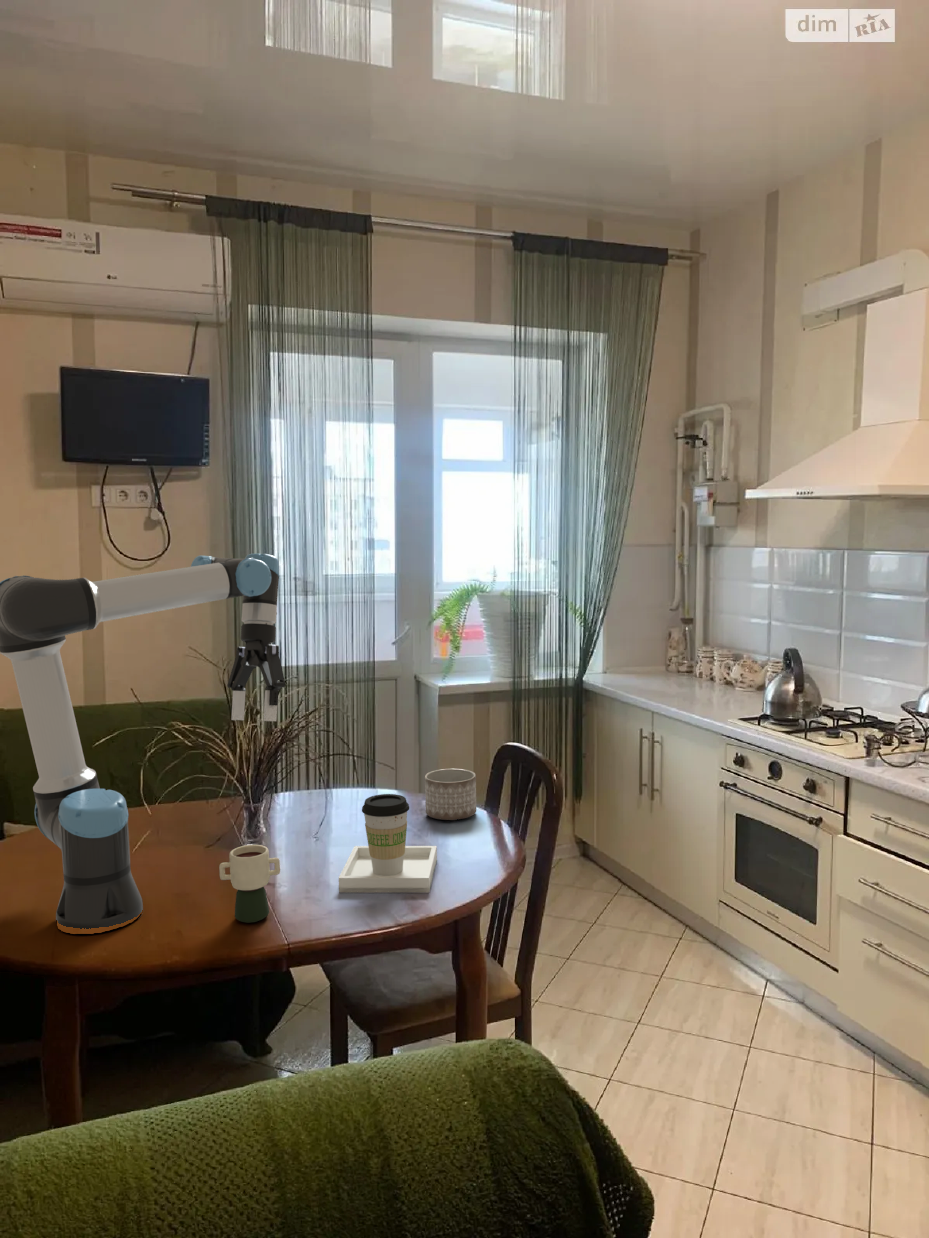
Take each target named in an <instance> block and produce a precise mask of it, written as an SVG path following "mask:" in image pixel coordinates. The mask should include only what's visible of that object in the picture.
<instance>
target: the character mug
mask: <svg viewBox="0 0 929 1238" xmlns="http://www.w3.org/2000/svg"><path fill="white" fill-rule="evenodd" d="M228 854H229V856H228V857H229V861H228V862H227V861H226V862H221V863H220V864H219V867H218V868H219V879H220V880H221V881H227V880H230V882H231V885H232V888H233V889H235V890H237V891H236V894H235V904H234V919H236V920H237V921H239V922H242V923H247V924H249V923H256V922H258V921H261V920H263V919H265V918H267V916H269V914H270V907H269V902H268V901H269V900H268V897H267V896H268V895H267V891H266V889H265V886H267V885H268V883H269V881H270V878H271V876H277V875H280V873H281V863H280V862H281V861H280V858H279V857H270V851H269V848H268V847H267V846H265V845H260V844H246V845H245V844H244V845H242V846H238V847H236V848H234V849H232V850H231V851H230V852H229V853H228ZM270 864H273V865H274V870H273V869H271V870H270ZM226 868H229V874H226Z"/></svg>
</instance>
